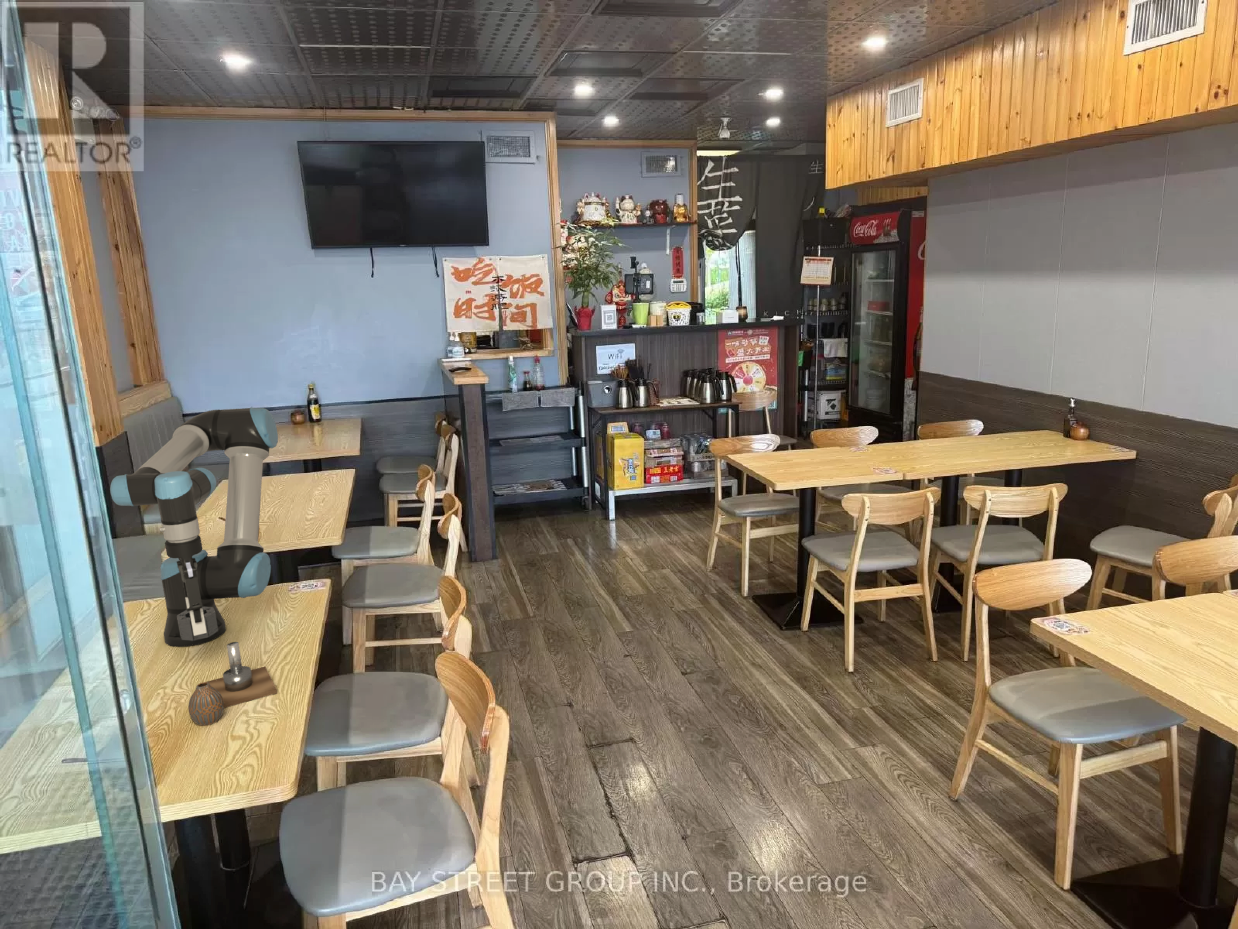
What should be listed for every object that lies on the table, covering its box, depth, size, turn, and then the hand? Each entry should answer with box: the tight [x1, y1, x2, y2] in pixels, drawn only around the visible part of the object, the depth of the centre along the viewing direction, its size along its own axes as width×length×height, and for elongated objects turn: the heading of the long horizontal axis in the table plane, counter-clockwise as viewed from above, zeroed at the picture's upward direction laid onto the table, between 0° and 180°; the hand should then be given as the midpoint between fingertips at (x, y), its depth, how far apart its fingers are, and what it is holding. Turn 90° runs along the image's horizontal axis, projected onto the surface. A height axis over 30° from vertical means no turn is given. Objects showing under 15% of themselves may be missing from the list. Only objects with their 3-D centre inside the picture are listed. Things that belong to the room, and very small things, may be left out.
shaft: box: [222, 641, 253, 692], centre depth 195 cm, size 6×6×10 cm
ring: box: [177, 607, 218, 641], centre depth 200 cm, size 8×8×5 cm
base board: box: [206, 666, 278, 709], centre depth 196 cm, size 14×14×1 cm
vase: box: [188, 681, 225, 726], centre depth 182 cm, size 7×7×9 cm
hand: (197, 627), depth 201 cm, fingers closed on ring, 8 cm apart
